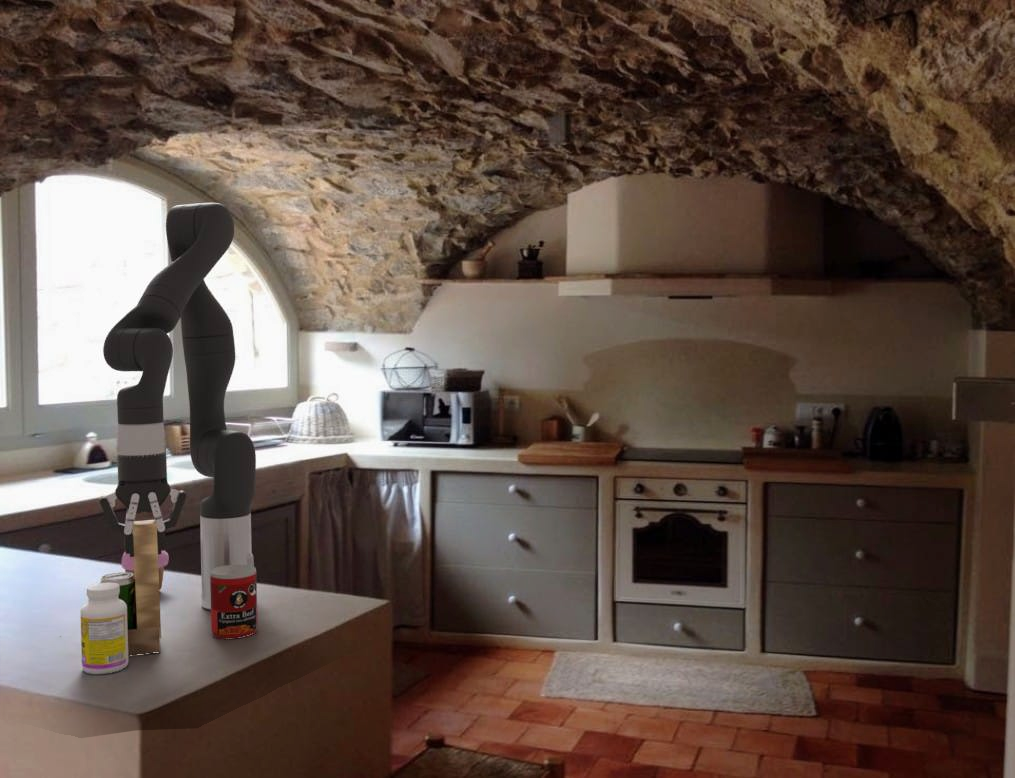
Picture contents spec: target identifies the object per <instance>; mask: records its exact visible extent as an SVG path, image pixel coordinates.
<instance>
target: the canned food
mask: <svg viewBox="0 0 1015 778" xmlns="http://www.w3.org/2000/svg"><path fill="white" fill-rule="evenodd" d="M257 586H258V580H257V568H256V566H254V567H253V566H250V565H226V566H221V567H217V568H214V569H212V570H211V574H210V588H211V609H210V619H211V621H210V624H211V627H210V629H211V630H210V631H211V633H212V635H213V637H215V638H217V637H218V638H217V639H221V638H223V639H222V640H224V639H225V640H229V639H228V638H238V637H243V636H247V635H250V634H252V633H254V632H255V631H257V628H258V595H257V593H258V591H257V590H258V589H257V588H258V587H257ZM255 633H256V632H255ZM255 633H254V634H255ZM252 635H253V634H252ZM250 636H251V635H250ZM247 637H248V636H247ZM226 638H227V639H226ZM238 639H239V638H238Z"/></svg>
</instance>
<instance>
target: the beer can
mask: <svg viewBox="0 0 1015 778" xmlns="http://www.w3.org/2000/svg"><path fill="white" fill-rule="evenodd" d="M100 578H101V579H100V582H99V583H117V584H119V586H120V593H119V595H118V597H119V599H121V600H123V601H124V602H125V603H126V605H127V628H128V630H131V629H137V615H136V591H135V579H134V577H133V573H128V572H125V571H122V572H112V573H108V574H105V575H102V576H101V577H100Z"/></svg>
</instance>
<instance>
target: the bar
mask: <svg viewBox="0 0 1015 778" xmlns="http://www.w3.org/2000/svg"><path fill="white" fill-rule="evenodd" d="M132 532H133V539H134V574H135V591H136V615H137V629H141V628H150V627H159V639H161V638H162V626H161V625H162V623H161V601H160V600H161V599H160V598H161V597H160V590H159V570H158V545H157V523H156V522H155V519H145V520H134V524H133V529H132Z"/></svg>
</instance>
